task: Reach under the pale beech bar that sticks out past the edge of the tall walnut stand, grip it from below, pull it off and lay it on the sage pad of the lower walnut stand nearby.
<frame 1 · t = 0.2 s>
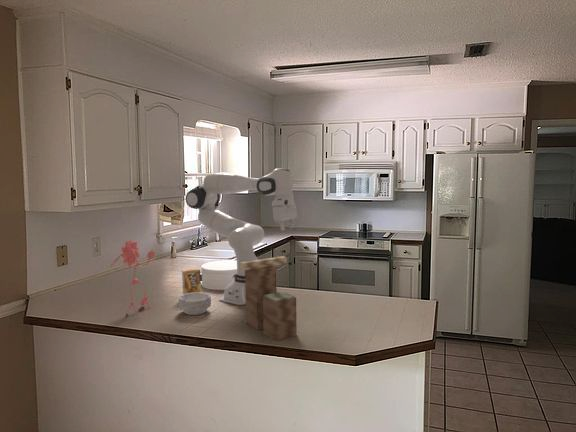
hand: (287, 229, 233), 39 cm above the worktop, tool pointing down, fingers open, 8 cm apart
beech bar: (260, 266, 207), point 26 cm above the worktop, touching tall stand
tall stand: (261, 324, 210), on the worktop
candy box: (192, 298, 253), on the worktop
paper bowls: (195, 312, 229), on the worktop
low stand: (279, 334, 198), on the worktop
plate stack: (225, 284, 283), on the worktop
pink flowering sprig: (132, 310, 234), on the worktop
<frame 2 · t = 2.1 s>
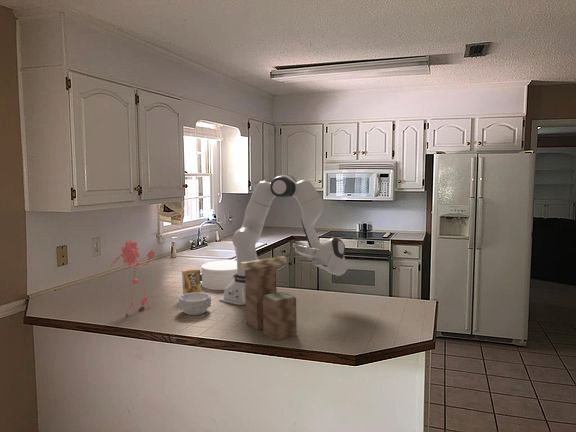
hand: (299, 246, 218), 33 cm above the worktop, tool pointing upward, fingers open, 8 cm apart
nothing on the worktop moved.
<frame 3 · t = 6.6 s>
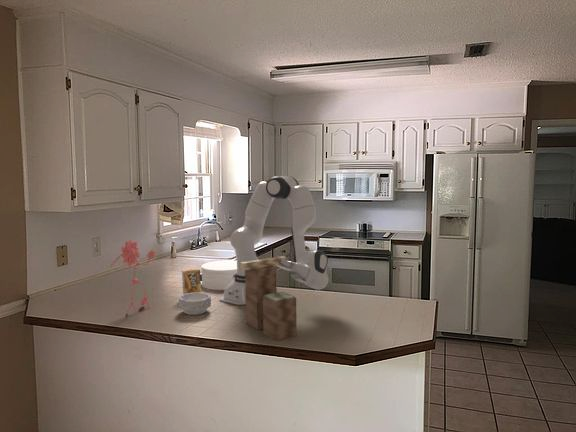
hand: (278, 259, 212), 28 cm above the worktop, tool pointing upward, fingers closed on beech bar, 3 cm apart
beech bar: (260, 266, 207), point 26 cm above the worktop, touching gripper, tall stand
everything else where it was.
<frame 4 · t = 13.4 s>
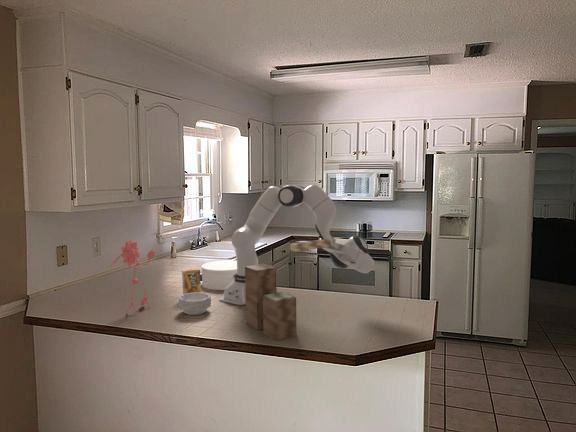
hand: (326, 241, 208), 36 cm above the worktop, tool pointing upward, fingers closed on beech bar, 3 cm apart
beech bar: (309, 248, 203), point 34 cm above the worktop, touching gripper
everything else where it was.
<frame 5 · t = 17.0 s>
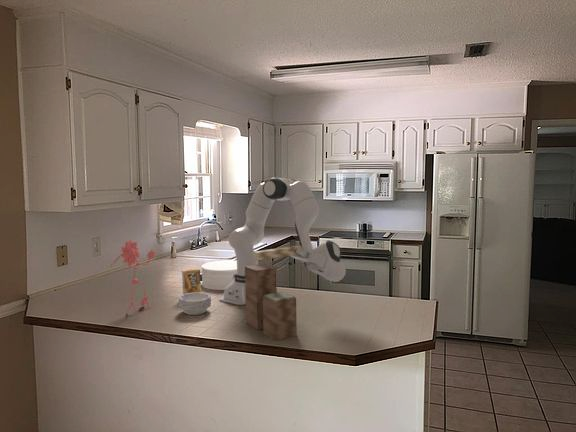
hand: (293, 249, 198), 35 cm above the worktop, tool pointing upward, fingers closed on beech bar, 3 cm apart
beech bar: (274, 256, 193), point 33 cm above the worktop, touching gripper
everything else where it was.
when the fingers open (20 cm above the worktop, at t = 20.4 s): beech bar drops 2 cm, resting on low stand.
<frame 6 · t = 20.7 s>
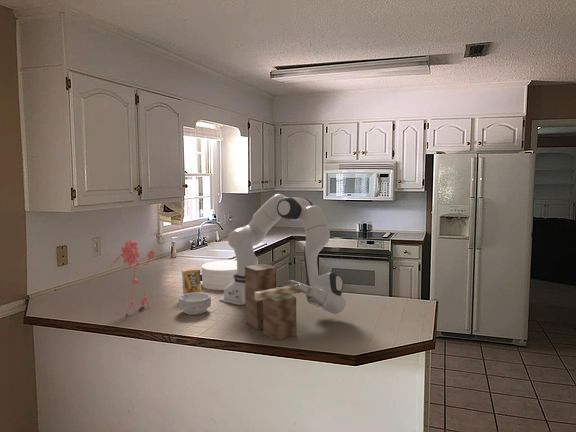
hand: (293, 283, 200), 20 cm above the worktop, tool pointing upward, fingers open, 6 cm apart
beech bar: (275, 296, 195), point 17 cm above the worktop, touching low stand
everything else where it was.
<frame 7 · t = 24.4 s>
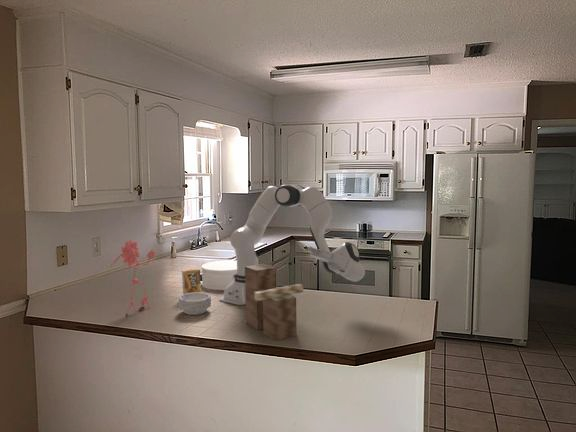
hand: (315, 250, 205), 34 cm above the worktop, tool pointing upward, fingers open, 8 cm apart
nothing on the worktop moved.
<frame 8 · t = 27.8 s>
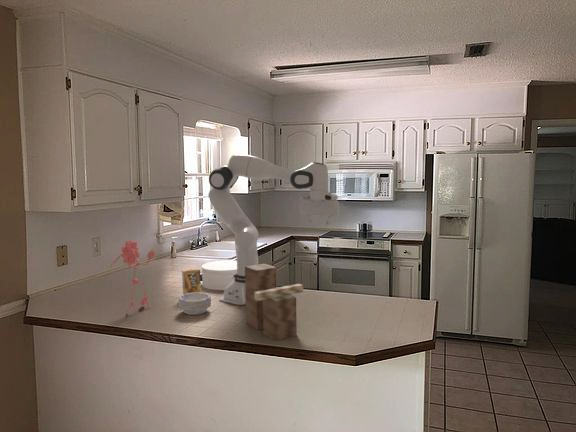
hand: (319, 224, 231), 41 cm above the worktop, tool pointing down, fingers open, 8 cm apart
nothing on the worktop moved.
at the end: beech bar inside the target area on the low stand (0.1 cm from its centre), point 16.6 cm above the low stand's base; beech bar tilted 0°; the gripper is holding nothing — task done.
